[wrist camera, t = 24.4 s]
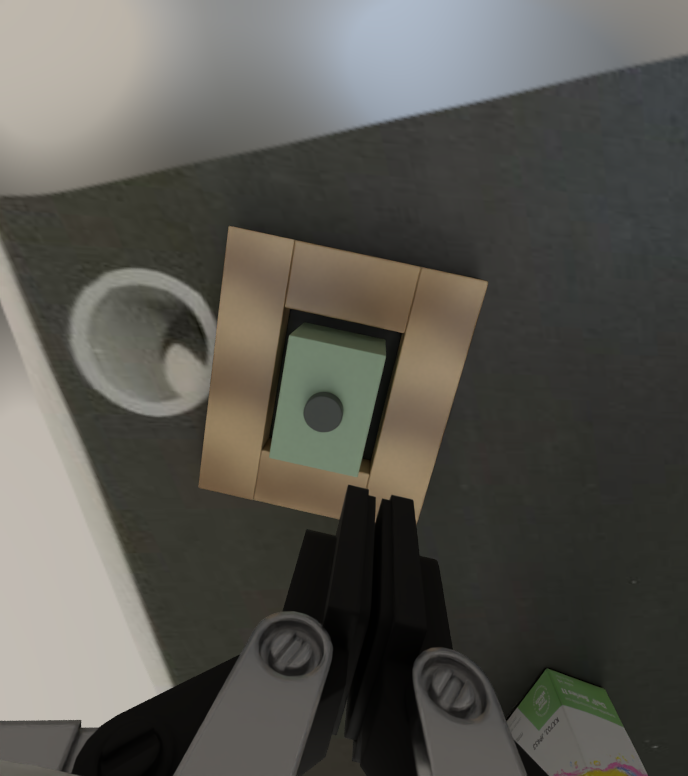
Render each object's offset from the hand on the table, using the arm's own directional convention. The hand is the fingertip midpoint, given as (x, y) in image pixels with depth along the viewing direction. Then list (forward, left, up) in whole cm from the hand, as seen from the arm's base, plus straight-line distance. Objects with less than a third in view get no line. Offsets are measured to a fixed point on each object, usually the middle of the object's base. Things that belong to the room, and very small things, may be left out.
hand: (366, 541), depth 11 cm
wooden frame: (+1, -2, -17) cm, 17 cm away
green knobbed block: (+1, -2, -17) cm, 17 cm away
